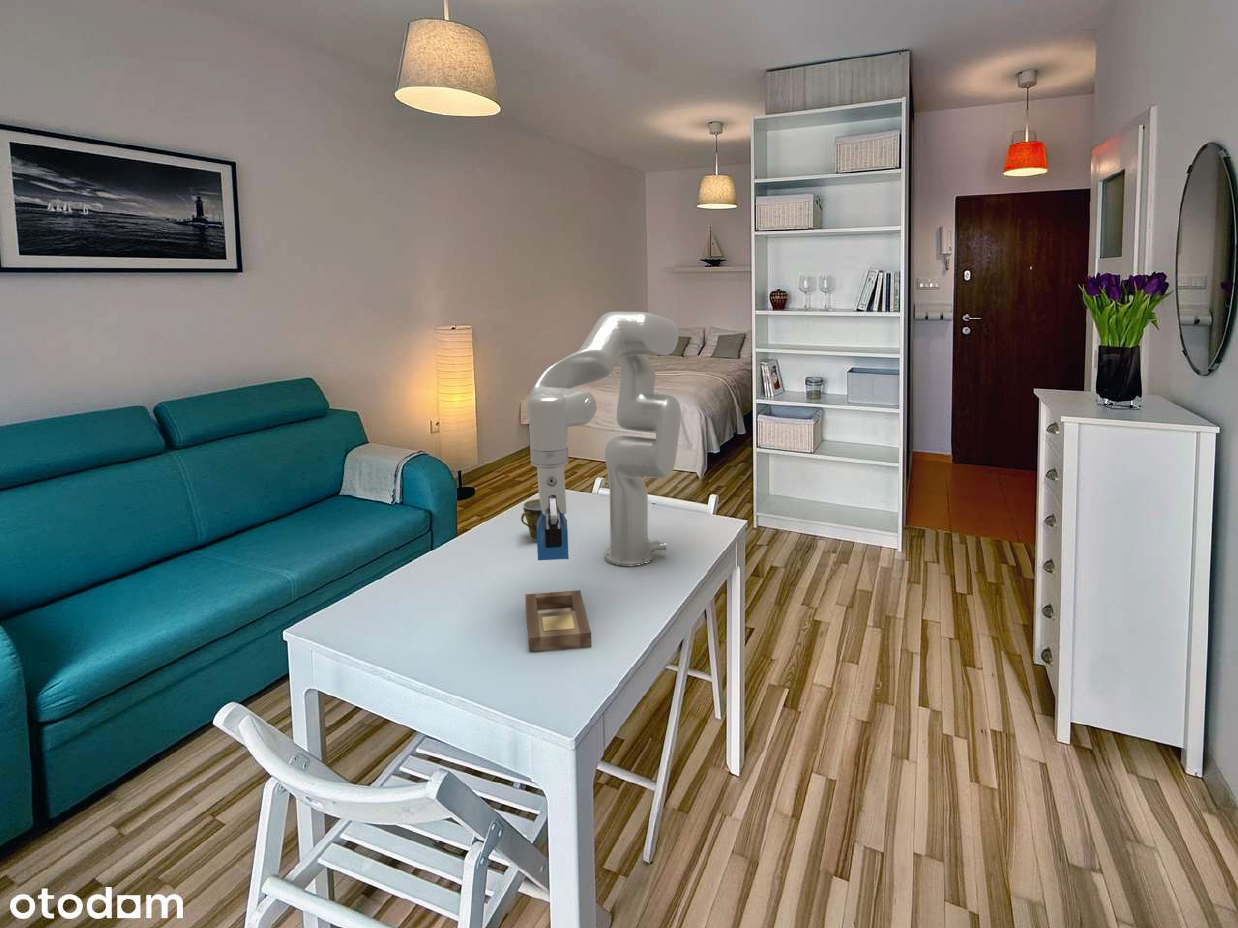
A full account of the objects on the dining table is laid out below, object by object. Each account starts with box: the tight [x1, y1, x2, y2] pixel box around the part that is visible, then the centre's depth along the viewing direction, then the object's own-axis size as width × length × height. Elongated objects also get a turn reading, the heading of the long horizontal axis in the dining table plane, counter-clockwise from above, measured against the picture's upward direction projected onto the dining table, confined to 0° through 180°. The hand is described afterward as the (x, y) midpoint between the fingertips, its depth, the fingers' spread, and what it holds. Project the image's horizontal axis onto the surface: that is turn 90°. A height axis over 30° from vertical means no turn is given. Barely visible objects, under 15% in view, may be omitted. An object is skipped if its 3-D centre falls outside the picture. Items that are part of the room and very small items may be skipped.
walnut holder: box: [525, 589, 592, 653], centre depth 151 cm, size 12×20×3 cm, turn 9°
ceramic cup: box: [520, 498, 542, 544], centre depth 198 cm, size 13×10×10 cm
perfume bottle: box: [536, 508, 569, 561], centre depth 150 cm, size 6×6×12 cm
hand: (552, 539), depth 150 cm, fingers closed on perfume bottle, 6 cm apart
